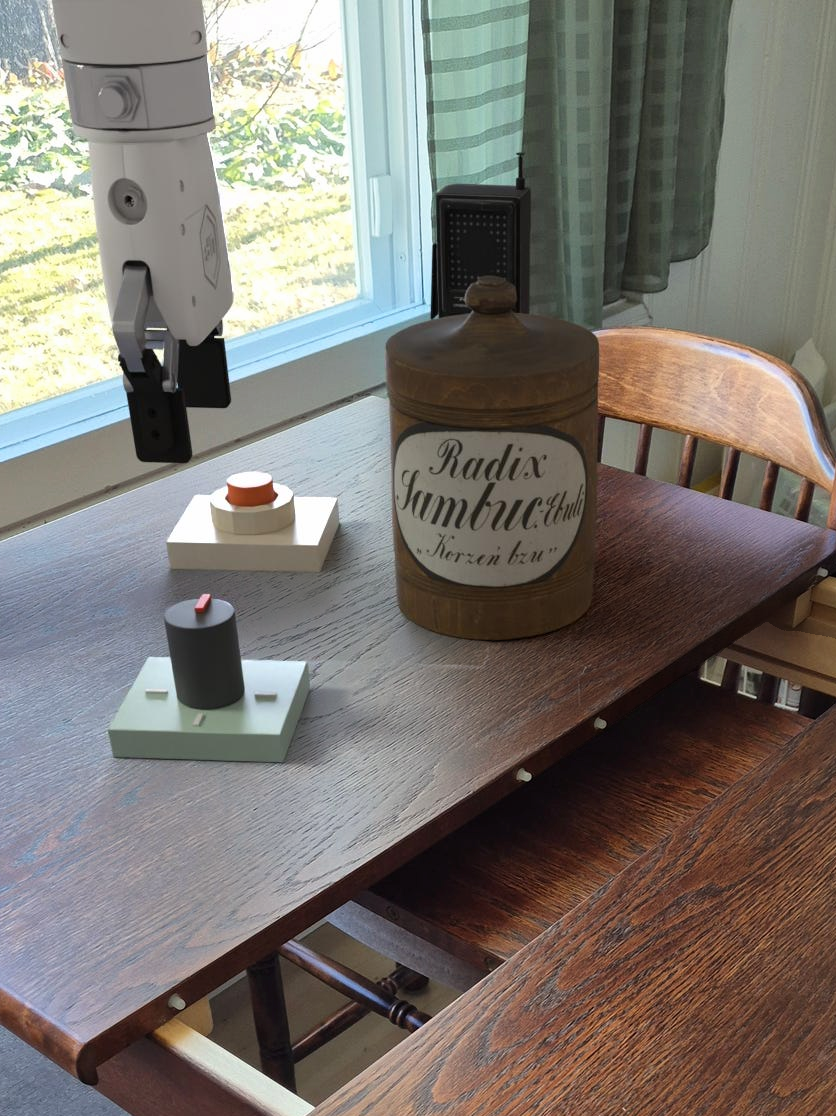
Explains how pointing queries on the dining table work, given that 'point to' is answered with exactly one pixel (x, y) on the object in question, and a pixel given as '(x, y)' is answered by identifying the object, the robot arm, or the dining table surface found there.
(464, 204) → the portable radio
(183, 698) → the dial
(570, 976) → the dining table surface
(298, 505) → the block
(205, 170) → the robot arm
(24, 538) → the dining table surface
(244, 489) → the button
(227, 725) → the panel
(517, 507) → the wooden container
